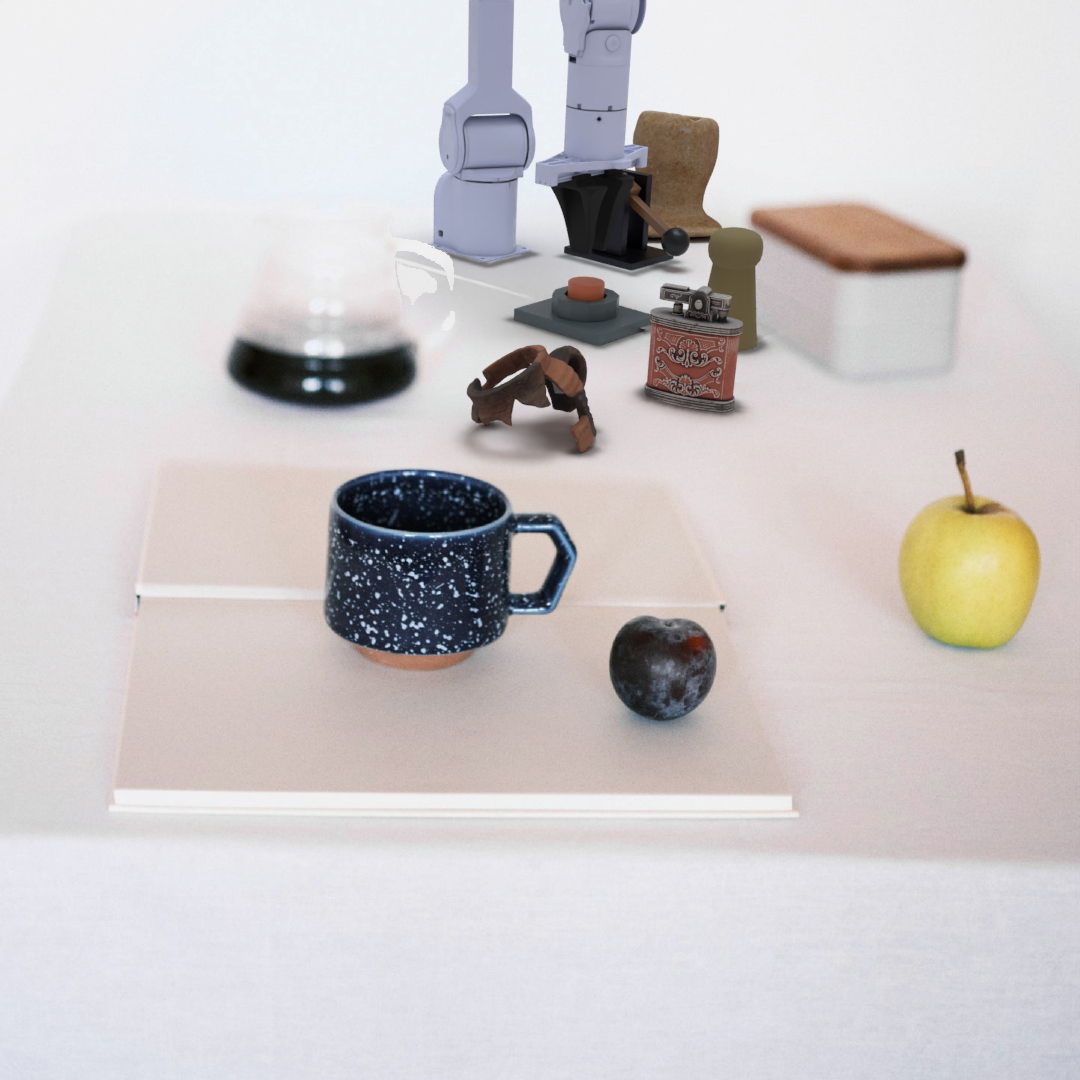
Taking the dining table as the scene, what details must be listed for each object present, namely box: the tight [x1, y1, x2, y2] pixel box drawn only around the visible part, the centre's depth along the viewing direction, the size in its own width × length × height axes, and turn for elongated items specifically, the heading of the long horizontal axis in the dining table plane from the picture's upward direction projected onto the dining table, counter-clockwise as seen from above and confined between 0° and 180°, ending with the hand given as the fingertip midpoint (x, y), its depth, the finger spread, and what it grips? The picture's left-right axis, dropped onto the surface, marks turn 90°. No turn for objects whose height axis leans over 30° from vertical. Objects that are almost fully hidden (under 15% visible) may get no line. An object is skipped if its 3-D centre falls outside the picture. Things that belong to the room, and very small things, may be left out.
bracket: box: [563, 168, 675, 272], centre depth 158 cm, size 10×8×10 cm
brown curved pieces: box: [466, 344, 598, 453], centre depth 110 cm, size 12×10×8 cm
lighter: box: [643, 282, 743, 413], centre depth 117 cm, size 8×3×10 cm, turn 65°
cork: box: [707, 226, 764, 352], centre depth 132 cm, size 6×6×11 cm
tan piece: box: [632, 110, 723, 239], centre depth 168 cm, size 15×12×15 cm
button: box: [567, 275, 606, 301], centre depth 136 cm, size 4×4×2 cm
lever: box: [622, 173, 691, 257], centre depth 155 cm, size 12×3×3 cm, turn 50°
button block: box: [513, 285, 652, 347], centre depth 137 cm, size 11×9×3 cm
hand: (588, 250), depth 134 cm, fingers closed
